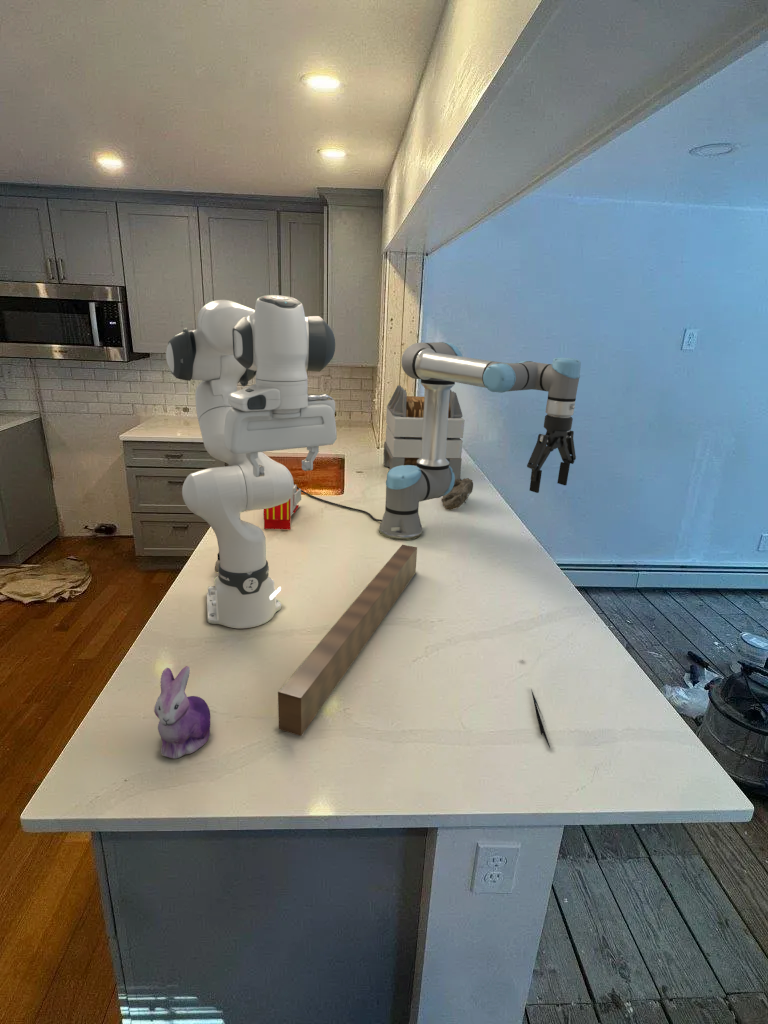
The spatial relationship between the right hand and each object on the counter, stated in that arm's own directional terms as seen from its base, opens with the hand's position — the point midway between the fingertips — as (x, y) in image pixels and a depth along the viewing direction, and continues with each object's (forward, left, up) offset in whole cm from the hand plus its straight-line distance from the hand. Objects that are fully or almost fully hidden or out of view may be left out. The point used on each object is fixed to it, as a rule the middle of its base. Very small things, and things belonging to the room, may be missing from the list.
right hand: (548, 487), depth 166 cm
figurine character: (-55, -74, -27) cm, 96 cm away
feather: (+36, -52, -27) cm, 69 cm away
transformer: (-100, +47, -27) cm, 114 cm away
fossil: (-60, +29, -27) cm, 72 cm away
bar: (-5, -64, -27) cm, 70 cm away
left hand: (+1, -89, +19) cm, 91 cm away
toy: (-86, -38, -27) cm, 98 cm away
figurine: (+4, -112, -27) cm, 116 cm away
